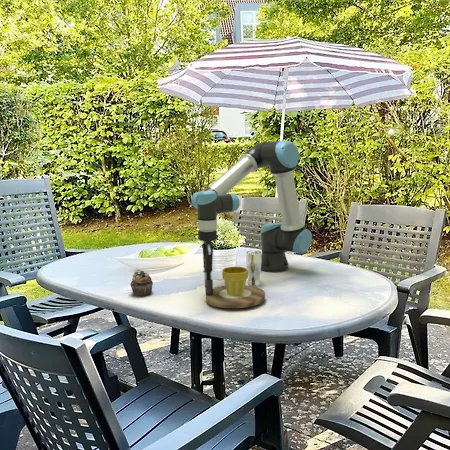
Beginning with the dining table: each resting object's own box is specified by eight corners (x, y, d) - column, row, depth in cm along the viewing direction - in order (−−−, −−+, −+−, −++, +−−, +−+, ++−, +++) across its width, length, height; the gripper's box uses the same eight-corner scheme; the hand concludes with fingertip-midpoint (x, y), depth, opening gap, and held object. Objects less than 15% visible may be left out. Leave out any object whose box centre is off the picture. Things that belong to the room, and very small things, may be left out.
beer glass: (244, 283, 217) (243, 251, 214) (257, 281, 220) (257, 249, 217) (250, 287, 211) (250, 254, 208) (264, 285, 213) (264, 252, 211)
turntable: (241, 285, 210) (241, 268, 208) (277, 299, 190) (277, 280, 189) (194, 296, 196) (193, 278, 195) (228, 312, 177) (227, 292, 175)
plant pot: (251, 295, 189) (251, 271, 187) (226, 298, 186) (225, 274, 185) (244, 288, 199) (244, 265, 197) (220, 290, 196) (219, 267, 195)
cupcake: (158, 293, 206) (156, 271, 204) (139, 299, 199) (138, 275, 198) (144, 289, 213) (143, 267, 211) (126, 294, 206) (125, 272, 204)
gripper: (196, 227, 195) (197, 282, 199) (199, 233, 183) (200, 292, 187) (214, 226, 196) (214, 281, 201) (219, 232, 184) (219, 291, 188)
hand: (208, 286), depth 194 cm, fingers closed
